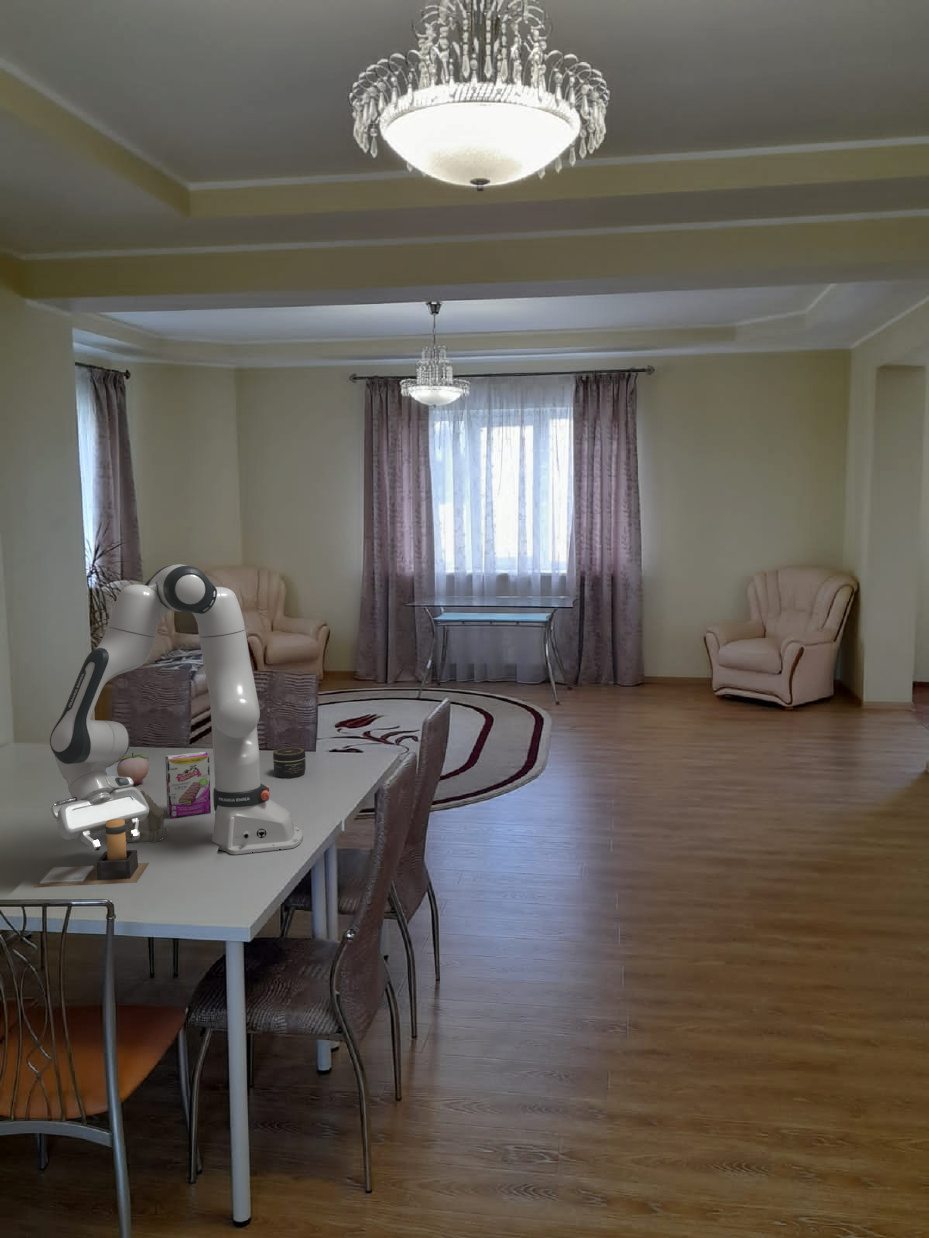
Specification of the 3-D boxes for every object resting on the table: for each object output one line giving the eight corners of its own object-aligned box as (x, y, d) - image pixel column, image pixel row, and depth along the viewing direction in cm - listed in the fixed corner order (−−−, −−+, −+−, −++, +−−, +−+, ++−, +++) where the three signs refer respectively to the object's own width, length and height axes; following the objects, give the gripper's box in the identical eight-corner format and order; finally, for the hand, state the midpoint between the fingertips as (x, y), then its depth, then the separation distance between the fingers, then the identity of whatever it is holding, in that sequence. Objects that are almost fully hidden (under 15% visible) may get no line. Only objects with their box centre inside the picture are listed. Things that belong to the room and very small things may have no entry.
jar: (311, 775, 303) (310, 751, 302) (281, 781, 297) (280, 756, 297) (297, 768, 311) (297, 745, 310) (268, 774, 306) (267, 750, 305)
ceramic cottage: (156, 843, 242) (152, 784, 242) (94, 843, 245) (91, 784, 244) (183, 827, 258) (180, 771, 257) (125, 827, 260) (122, 771, 260)
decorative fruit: (124, 790, 289) (123, 758, 288) (114, 785, 295) (112, 753, 294) (155, 784, 295) (153, 752, 294) (144, 779, 301) (142, 747, 300)
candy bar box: (169, 819, 262) (166, 759, 260) (167, 814, 266) (164, 755, 265) (212, 813, 267) (209, 754, 265) (208, 808, 271) (206, 750, 269)
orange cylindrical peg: (129, 869, 221) (126, 818, 220) (125, 876, 217) (122, 824, 216) (111, 870, 221) (108, 818, 220) (106, 877, 217) (103, 824, 216)
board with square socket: (149, 868, 226) (148, 845, 225) (137, 888, 214) (135, 864, 213) (51, 873, 224) (49, 850, 223) (33, 893, 212) (31, 869, 211)
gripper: (52, 795, 214) (75, 848, 209) (138, 776, 229) (162, 825, 224) (44, 811, 218) (67, 864, 212) (129, 791, 233) (152, 839, 227)
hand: (116, 843), depth 218 cm, fingers open, 8 cm apart
